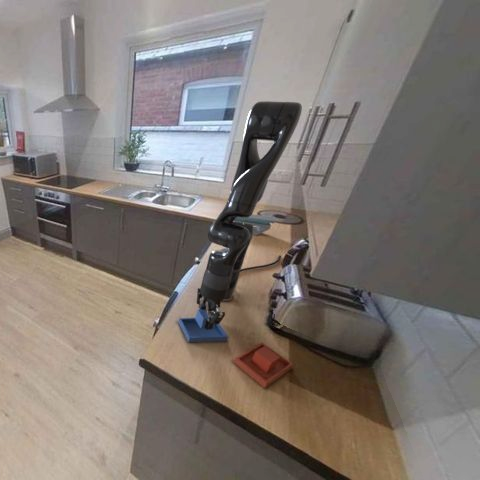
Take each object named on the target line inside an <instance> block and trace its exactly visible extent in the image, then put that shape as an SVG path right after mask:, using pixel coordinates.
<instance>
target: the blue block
mask: <svg viewBox="0 0 480 480" xmlns="http://www.w3.org/2000/svg"><path fill="white" fill-rule="evenodd" d="M209 312H213V311H209ZM212 317H213V315H211V317H210V318H212ZM194 318H195V320H196V322H197V323H198V325H199V326H200V328H201V329H205V324H206V321H207V314H206V309H199V308H198V309H197V310H196V314H195V317H194ZM214 326H215V324H214V325H213V328H214Z"/></svg>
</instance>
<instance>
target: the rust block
mask: <svg viewBox="0 0 480 480" xmlns="http://www.w3.org/2000/svg"><path fill="white" fill-rule="evenodd" d="M279 359H280V357H279V356H278V355H276V354H275V353H273V352H272V351H271V350H269V349H268V348H266V347H265V346H264V347H262V348H261V349H259V350H257V351H256V352H255V354H254V356H253V359H252V361H251V362H252V363H253V364H254V365H256V366H257V367H258V368H260V369H261V370H262V371H263V372H265V373H266V374H267V373H268V372H269V371H271V370H272V369H274V368H275V367H276V365H277V363H278V361H279Z"/></svg>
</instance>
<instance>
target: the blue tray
mask: <svg viewBox="0 0 480 480" xmlns="http://www.w3.org/2000/svg"><path fill="white" fill-rule="evenodd" d="M195 318H196V317H179V318H178V322H177V323H178V325H179V326H180V328H181V330H182V333H183V335H184V337H185V339H186V340H187V342H188V343H208V342H209V343H210V342H212V343H213V342H214V343H215V342H227V341H228V339H229V336H228V334H227V333H226V331H225V330H224V329H223V327H222V325H221V324H220V323H219V324H215V326H214V328H212V329H208V330H206V329H201V328H200V326H199V325H198V323H197V322H196V320H195Z"/></svg>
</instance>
